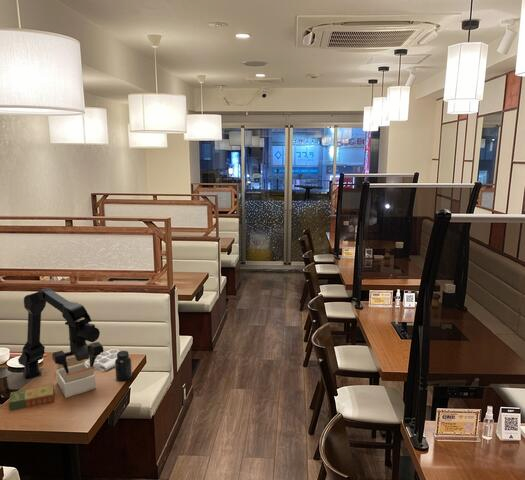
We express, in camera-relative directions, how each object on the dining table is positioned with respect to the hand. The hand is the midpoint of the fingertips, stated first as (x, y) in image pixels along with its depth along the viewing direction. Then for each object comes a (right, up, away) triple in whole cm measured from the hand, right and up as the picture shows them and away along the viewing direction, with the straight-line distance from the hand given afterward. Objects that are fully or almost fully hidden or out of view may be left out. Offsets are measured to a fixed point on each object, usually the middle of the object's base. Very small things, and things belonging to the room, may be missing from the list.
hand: (79, 371), depth 193 cm
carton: (-18, -11, -3) cm, 21 cm away
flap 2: (0, -1, 0) cm, 1 cm away
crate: (-5, -8, +8) cm, 13 cm away
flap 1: (-8, +1, +10) cm, 13 cm away
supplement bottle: (+14, -7, +15) cm, 22 cm away
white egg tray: (+1, -5, +29) cm, 30 cm away
